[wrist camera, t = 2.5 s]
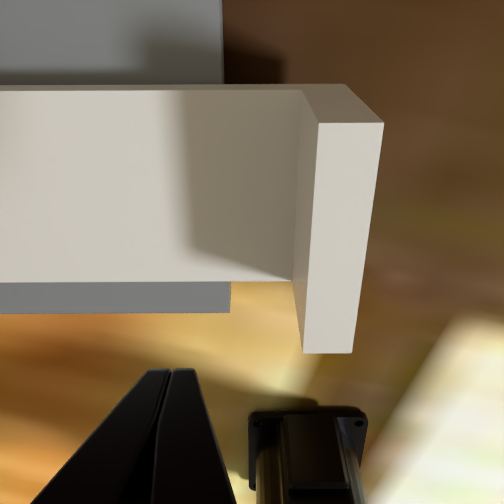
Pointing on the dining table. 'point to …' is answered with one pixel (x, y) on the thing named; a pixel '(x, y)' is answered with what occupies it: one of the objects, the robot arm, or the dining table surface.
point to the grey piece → (112, 73)
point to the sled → (193, 190)
